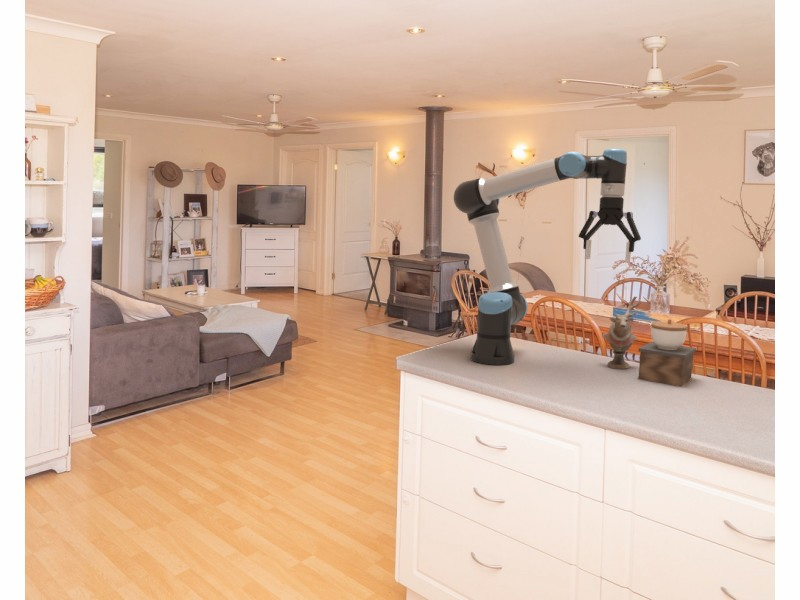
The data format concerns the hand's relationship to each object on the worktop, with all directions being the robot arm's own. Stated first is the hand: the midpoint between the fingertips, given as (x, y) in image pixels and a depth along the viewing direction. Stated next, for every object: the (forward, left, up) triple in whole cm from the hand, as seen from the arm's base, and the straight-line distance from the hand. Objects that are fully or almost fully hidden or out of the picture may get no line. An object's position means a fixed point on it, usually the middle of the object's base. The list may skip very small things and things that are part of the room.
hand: (607, 260), depth 214 cm
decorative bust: (+5, +3, -37) cm, 37 cm away
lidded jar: (+22, -1, -27) cm, 35 cm away
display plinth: (+22, -1, -37) cm, 43 cm away
